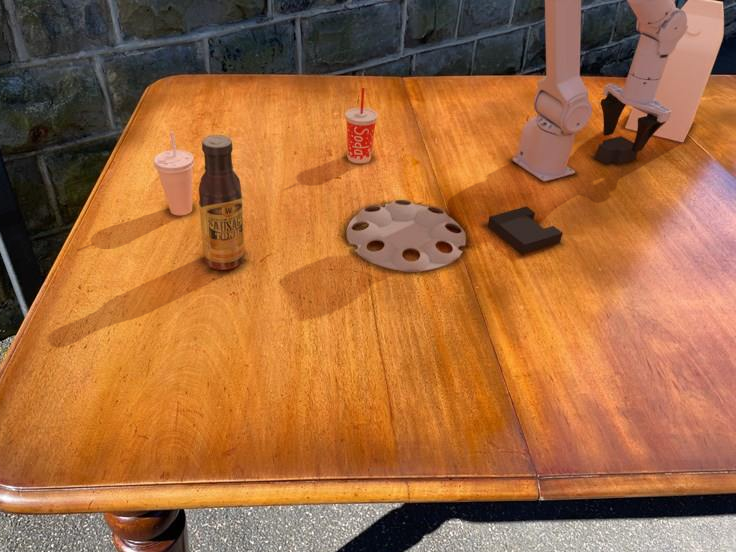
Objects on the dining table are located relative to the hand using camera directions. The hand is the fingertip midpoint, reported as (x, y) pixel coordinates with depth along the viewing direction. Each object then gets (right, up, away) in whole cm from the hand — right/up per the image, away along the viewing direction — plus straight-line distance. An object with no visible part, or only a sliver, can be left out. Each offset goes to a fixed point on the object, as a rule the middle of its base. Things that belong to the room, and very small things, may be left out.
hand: (622, 142), depth 126 cm
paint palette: (-45, -21, -22) cm, 55 cm away
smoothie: (-84, -16, -17) cm, 87 cm away
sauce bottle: (-74, -25, -28) cm, 83 cm away
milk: (+14, +7, +14) cm, 21 cm away
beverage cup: (-52, -4, -1) cm, 53 cm away
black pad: (-26, -20, -21) cm, 39 cm away
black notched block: (-1, -3, +2) cm, 3 cm away
